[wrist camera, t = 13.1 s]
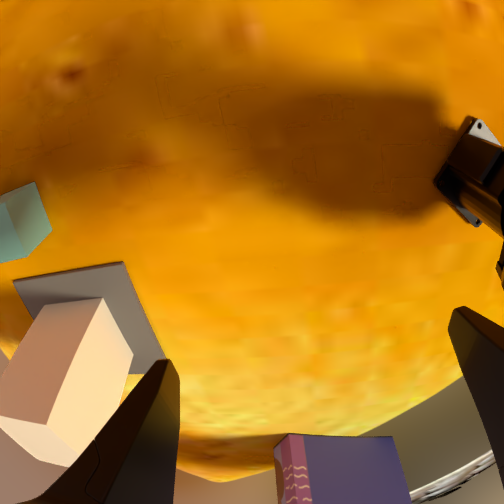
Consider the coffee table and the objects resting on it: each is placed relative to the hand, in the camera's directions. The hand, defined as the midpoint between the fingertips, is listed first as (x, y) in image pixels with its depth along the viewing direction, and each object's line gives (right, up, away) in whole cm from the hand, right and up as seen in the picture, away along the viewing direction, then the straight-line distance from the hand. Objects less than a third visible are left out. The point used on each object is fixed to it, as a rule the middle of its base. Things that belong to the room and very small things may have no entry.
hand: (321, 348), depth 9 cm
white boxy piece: (-16, -4, +16) cm, 24 cm away
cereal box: (+10, -24, +29) cm, 39 cm away
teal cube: (-19, +6, +11) cm, 23 cm away
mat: (-16, -4, +17) cm, 24 cm away
